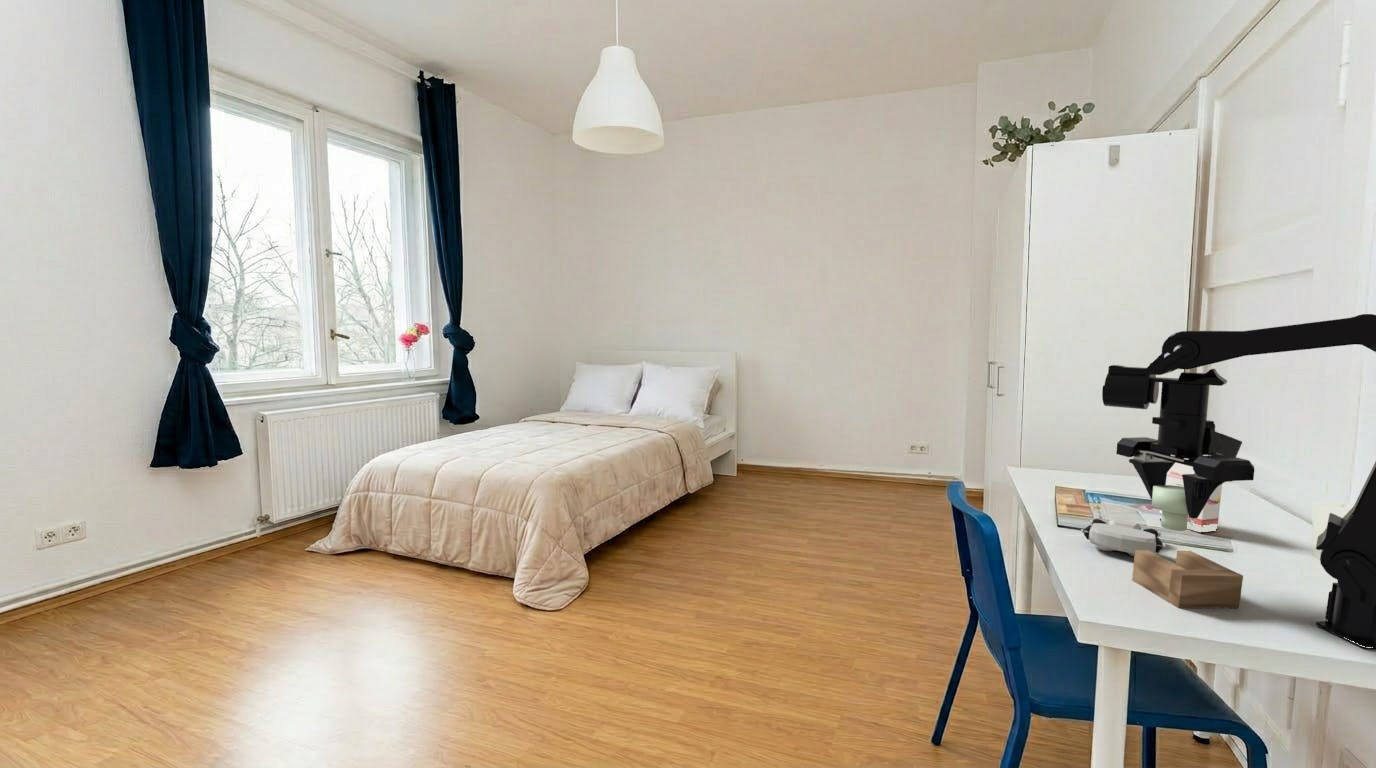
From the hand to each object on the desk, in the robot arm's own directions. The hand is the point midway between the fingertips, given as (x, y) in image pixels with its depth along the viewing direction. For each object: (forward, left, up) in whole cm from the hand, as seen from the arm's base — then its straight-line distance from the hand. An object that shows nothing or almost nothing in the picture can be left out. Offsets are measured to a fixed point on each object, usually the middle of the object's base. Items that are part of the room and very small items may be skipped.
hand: (1175, 511), depth 98 cm
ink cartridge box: (+28, -26, -12) cm, 41 cm away
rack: (-3, 0, -12) cm, 12 cm away
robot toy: (+16, -4, -13) cm, 21 cm away
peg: (0, 0, -3) cm, 2 cm away
